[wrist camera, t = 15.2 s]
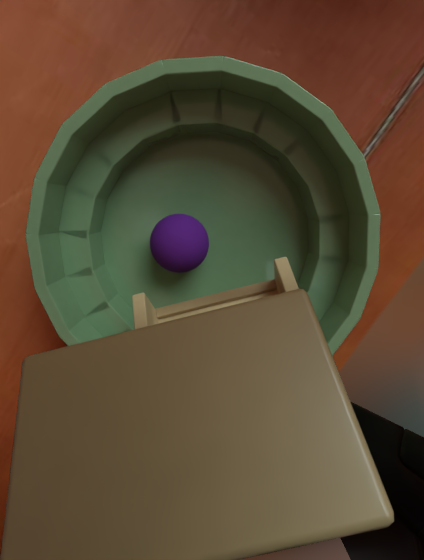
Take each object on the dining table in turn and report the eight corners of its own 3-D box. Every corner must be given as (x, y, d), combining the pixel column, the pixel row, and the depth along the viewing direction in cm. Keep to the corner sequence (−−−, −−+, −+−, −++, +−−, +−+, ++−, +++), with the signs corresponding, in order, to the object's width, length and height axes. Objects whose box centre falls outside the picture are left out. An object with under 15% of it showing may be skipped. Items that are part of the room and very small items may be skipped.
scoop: (364, 502, 13) (802, 552, 2) (172, 545, 13) (-321, 779, 2) (286, 285, 18) (294, -25, 7) (149, 318, 18) (-37, 70, 7)
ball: (179, 191, 19) (154, 225, 21) (155, 225, 16) (130, 260, 19) (226, 227, 19) (197, 256, 22) (209, 264, 17) (179, 293, 19)
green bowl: (392, 259, 21) (446, 275, 16) (188, 412, 23) (183, 466, 18) (226, 27, 19) (232, -37, 14) (12, 222, 21) (-49, 226, 16)
